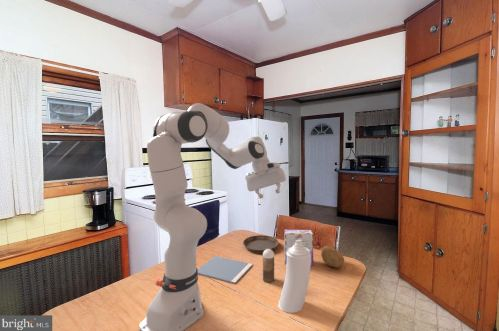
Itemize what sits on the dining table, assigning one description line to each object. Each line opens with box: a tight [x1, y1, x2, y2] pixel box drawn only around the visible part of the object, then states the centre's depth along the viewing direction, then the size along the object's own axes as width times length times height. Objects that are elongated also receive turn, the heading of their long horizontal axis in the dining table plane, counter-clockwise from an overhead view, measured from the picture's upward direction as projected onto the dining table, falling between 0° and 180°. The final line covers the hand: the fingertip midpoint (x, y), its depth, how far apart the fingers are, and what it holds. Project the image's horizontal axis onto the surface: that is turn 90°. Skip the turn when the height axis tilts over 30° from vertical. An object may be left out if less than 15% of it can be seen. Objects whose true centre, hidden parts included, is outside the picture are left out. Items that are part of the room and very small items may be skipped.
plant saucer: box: [242, 234, 279, 254], centre depth 145 cm, size 21×21×3 cm
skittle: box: [262, 249, 275, 284], centre depth 109 cm, size 5×5×14 cm
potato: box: [320, 245, 345, 269], centre depth 121 cm, size 10×14×8 cm
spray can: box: [277, 240, 312, 314], centre depth 92 cm, size 12×11×25 cm
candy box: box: [284, 229, 314, 266], centre depth 124 cm, size 14×6×16 cm, turn 84°
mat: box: [197, 255, 254, 285], centre depth 119 cm, size 18×22×1 cm
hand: (269, 195), depth 121 cm, fingers open, 8 cm apart
